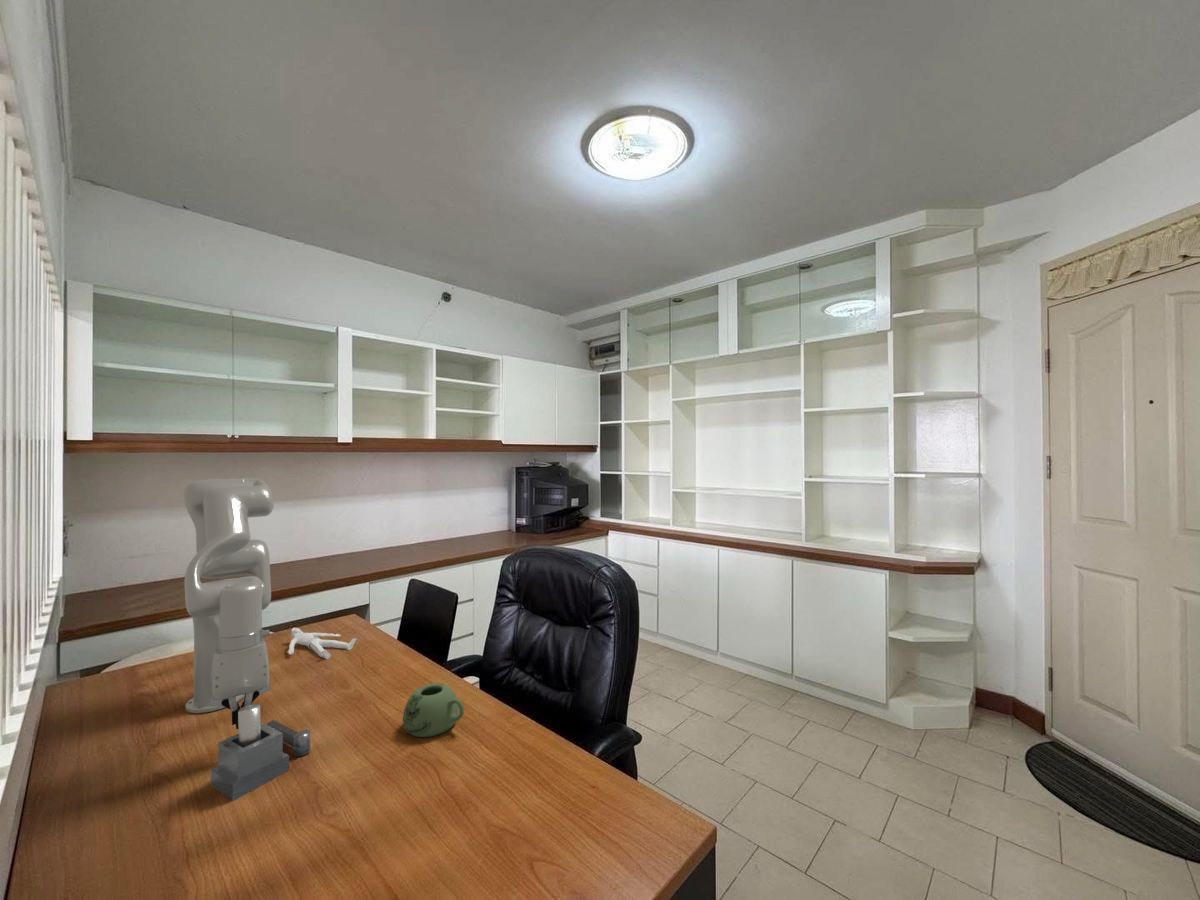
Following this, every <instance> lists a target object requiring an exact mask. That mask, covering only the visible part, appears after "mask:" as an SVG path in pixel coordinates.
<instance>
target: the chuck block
mask: <svg viewBox="0 0 1200 900" xmlns="http://www.w3.org/2000/svg"><path fill="white" fill-rule="evenodd" d="M260 724H261V740H259V741H257V742H255V743H253V744H250V745H248V746H246V747H244V748H242V747H241V746H239V733H237V734H234V735H232V736H230V737H228V738H226V739H224V740H221V741H219V742H218V744H217V745H218V746H217V747H218V748H217V753H218V754H217V766H216V767H214V768H212V769H210V786H211V787H213V788H214V789H215V790H217V791H218V792H220V793H221V794H223V796H225V797H227V798H228V799H229V800H231V801H235V800H237V799H239V798H240V797H242V796H245V795H246V794H248V793H250V792H251V791H253V790H255V789H257V788H260V787H261V786H263V785H264V784H266V783H268V782H270V781H272V780H273V779H275V778H277V777H279V776H281V775H283V774H284V773H287V772H288V771H290V755H289V754H287V753H286V752H285V753H284V751H283V750H284V749H283V748H284V746H283V745H284V742H283V733H282V732H280V731H278V730H276V729H274V728H272V727H270V726H268V725H266V723H264V722H262V723H261V722H260Z"/></svg>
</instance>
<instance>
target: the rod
mask: <svg viewBox="0 0 1200 900" xmlns="http://www.w3.org/2000/svg"><path fill="white" fill-rule="evenodd" d="M237 730H238V734H239V746H241V747H242V748H244V747H246V746H248V745H250V744H253V743H255V742H257V741H259V740H261V704H259V703H251V705H248V706H245V707H243V708H241V707H240V710H239V711H238V729H237Z"/></svg>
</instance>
